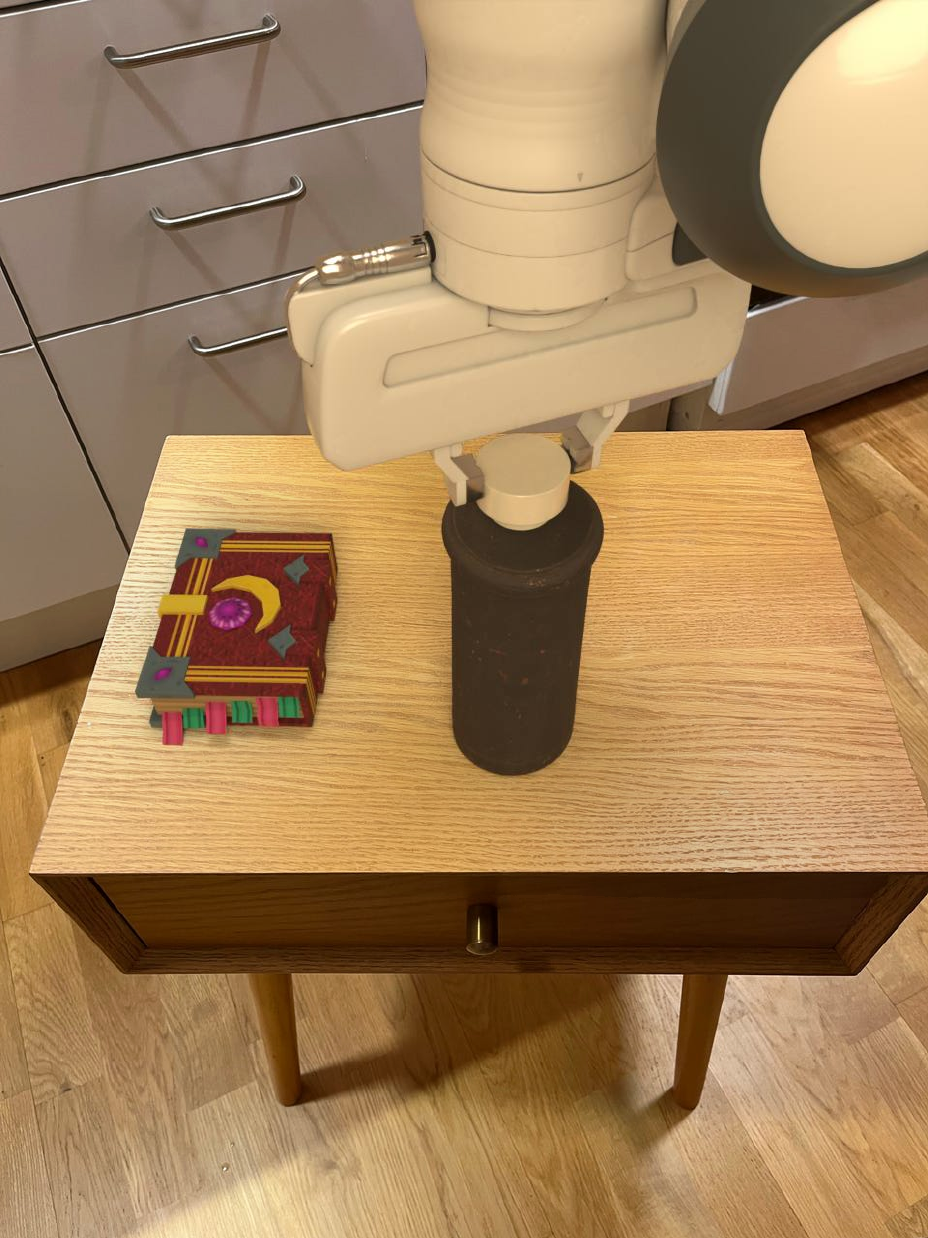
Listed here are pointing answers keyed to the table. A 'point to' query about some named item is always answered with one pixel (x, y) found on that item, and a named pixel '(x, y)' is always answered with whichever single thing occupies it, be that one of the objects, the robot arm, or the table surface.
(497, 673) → the container
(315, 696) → the decorative book
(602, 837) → the table surface
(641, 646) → the table surface
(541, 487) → the beige cylinder disc
